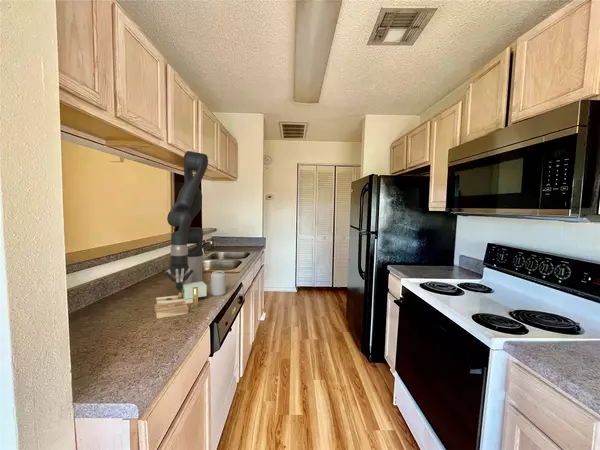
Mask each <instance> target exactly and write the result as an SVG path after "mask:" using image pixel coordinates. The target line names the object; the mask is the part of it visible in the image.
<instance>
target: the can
mask: <svg viewBox="0 0 600 450" xmlns="http://www.w3.org/2000/svg"><path fill="white" fill-rule="evenodd" d="M226 275H227V274H226V273H225V271H223V270H214V271H212V272H211V274H210V294H211V295H212V296H213V297H221V296H223V295H225V294H226V292H227V290H226V289H227V288H226V287H227V285H226V284H227V283H226V280H227V278H226V277H227V276H226Z"/></svg>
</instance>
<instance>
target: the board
mask: <svg viewBox="0 0 600 450" xmlns="http://www.w3.org/2000/svg"><path fill="white" fill-rule="evenodd" d="M177 293H178V294H176V295H175V294H174V295H169V296H160V297H155V302H156V305H157V304H164V303H171V302H178V301H185V303H186V304H187V305H188V304H193V298H189V299H184V294H183V295H182V291H179V292H177Z"/></svg>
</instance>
